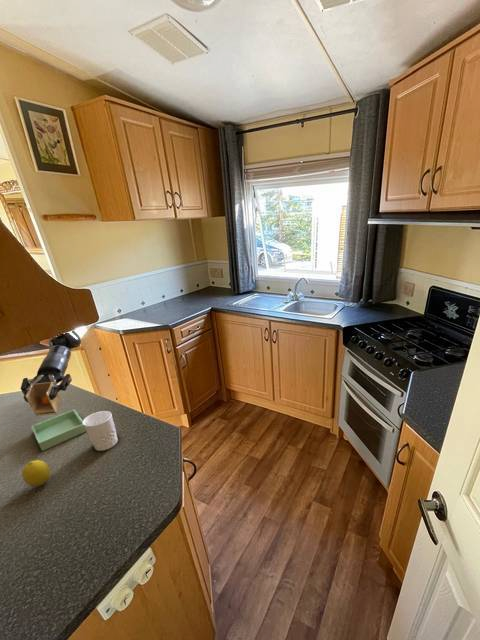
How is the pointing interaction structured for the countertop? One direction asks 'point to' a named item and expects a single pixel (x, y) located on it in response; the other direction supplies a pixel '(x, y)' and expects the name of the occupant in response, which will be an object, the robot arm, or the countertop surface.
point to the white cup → (101, 430)
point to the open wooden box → (36, 397)
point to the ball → (45, 400)
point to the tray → (58, 429)
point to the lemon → (36, 473)
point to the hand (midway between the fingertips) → (39, 399)
